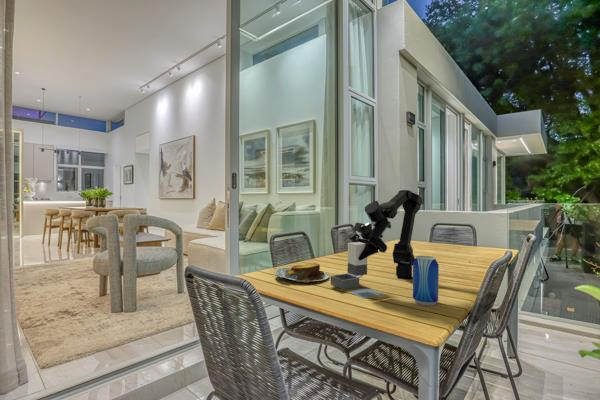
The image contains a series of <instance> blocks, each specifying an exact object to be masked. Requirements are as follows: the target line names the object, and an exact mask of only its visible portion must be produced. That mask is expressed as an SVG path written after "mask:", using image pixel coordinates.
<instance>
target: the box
mask: <svg viewBox="0 0 600 400" xmlns="http://www.w3.org/2000/svg"><path fill="white" fill-rule="evenodd" d="M365 244H366V243H361V242H347V273H349V274H352V275H355V276H359V275H363V276H364V275H365V276H366V275H368V257H366V258H364V259H362V260H359V259H358V258H359V256H360V254H361V253H362V251H363V250H364V248H365Z"/></svg>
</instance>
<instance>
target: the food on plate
mask: <svg viewBox="0 0 600 400" xmlns="http://www.w3.org/2000/svg"><path fill="white" fill-rule="evenodd" d="M320 268H321V266H320V263H316V262H313V263H308V264H297V265H293V266H285V267H279V268H277V269H275V270H274V271H273V273H274V274H275V275H276V276H277V278H285V279H288V280H292V281H295V282H297V283H298V282H300V283H307V284H308V283H311V282H320V281H321V282H322V281H325V280H327V279H329V278H330V276H329V275H330V274H329V275H327V274H328V273H327V272H325V271H323V270H320ZM325 273H326V274H325ZM317 279H318V280H317Z"/></svg>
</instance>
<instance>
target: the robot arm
mask: <svg viewBox="0 0 600 400" xmlns="http://www.w3.org/2000/svg"><path fill="white" fill-rule="evenodd" d="M378 201H379V200H372V201H371V203H368V204H367V205H365V207H364V212H365V213H366V215H367V217H368V219H369V220H370V221H371V222H372V223H370V222H366V223H361V222H355V224H354V226H353V229H352V231H355V232H357V233H354V232H350V233H349V235H348V236H347V238H348V239H349V241H351V243H353V242H361V243H366V244H365V248H364V250H363V251H362V253H361V254H360V256H359V258H358V259H359V260H362V259H364V258H366V257H367V258H368V257H370V256H372V255H375V254H378V253H379V252H380V253H383V254H384V253H386V252H387V250H388V245H387V244H386V243H385V242H384V240H383V237H384V235H383V234H384V232H385V231H386V229H391V228H392V225H391V221H389V219H394V218H395V217H396V216H397V214H398V210H399V208H400V207H402V208H403V211H404V213H403V214H404V215H403V220H402V226H401V229H400V230H401V231H400V237H399V241H398V242H397V243H395V244H394V245H393V246H394V247H393V251H392V260H393V264H396V266H395V276H396V277H397V279H406V280H413V262H414V261H415V259H416V256H415V255H414V249H413V247H412V244H411V242H412V235H413V232H414V231H413V230H414V224H415V218H416V214H418V212H419V211H420V210H421V206H422V205H423V198H422V197H421V196H420V195H419V194H417V193H415V192H413V191H411V190H409V189H401V190H398V193H396V195H394V196H393V197H392V198H391V199H390V200H389V201H386V202H382V203H380V204H379V202H378ZM358 233H359V234H358Z"/></svg>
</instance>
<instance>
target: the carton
mask: <svg viewBox="0 0 600 400" xmlns="http://www.w3.org/2000/svg"><path fill="white" fill-rule="evenodd" d="M326 273H327V272H325V274H326ZM327 275H329V277H330V285H332V286H333V287H335V288H338V289H340V290H348V289H349V290H350V289H355V288H359V287H360V278H362V277H363V276H364V275H359V276H355V275H352V274H349V273H348V272H347V273H341V274H334V275H331V274H330V273H329V274H328V273H327Z"/></svg>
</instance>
